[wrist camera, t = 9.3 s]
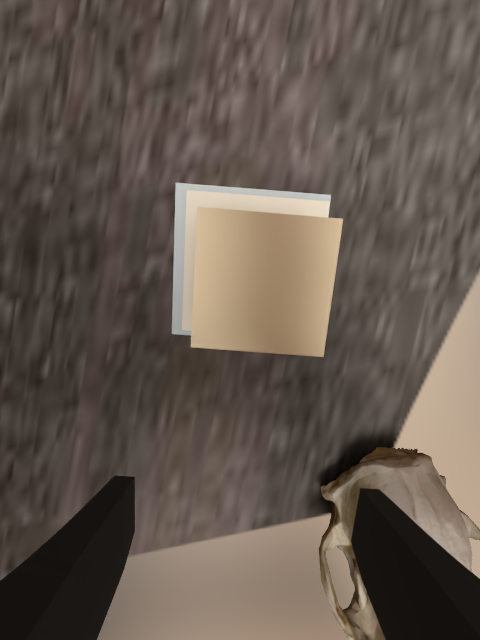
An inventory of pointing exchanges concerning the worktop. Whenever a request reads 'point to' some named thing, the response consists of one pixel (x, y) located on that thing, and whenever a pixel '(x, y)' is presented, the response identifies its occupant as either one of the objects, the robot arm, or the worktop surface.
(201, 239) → the maple block
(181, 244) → the tower base
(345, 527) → the skull
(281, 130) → the worktop surface
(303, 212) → the tower top
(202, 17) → the worktop surface
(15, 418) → the worktop surface
